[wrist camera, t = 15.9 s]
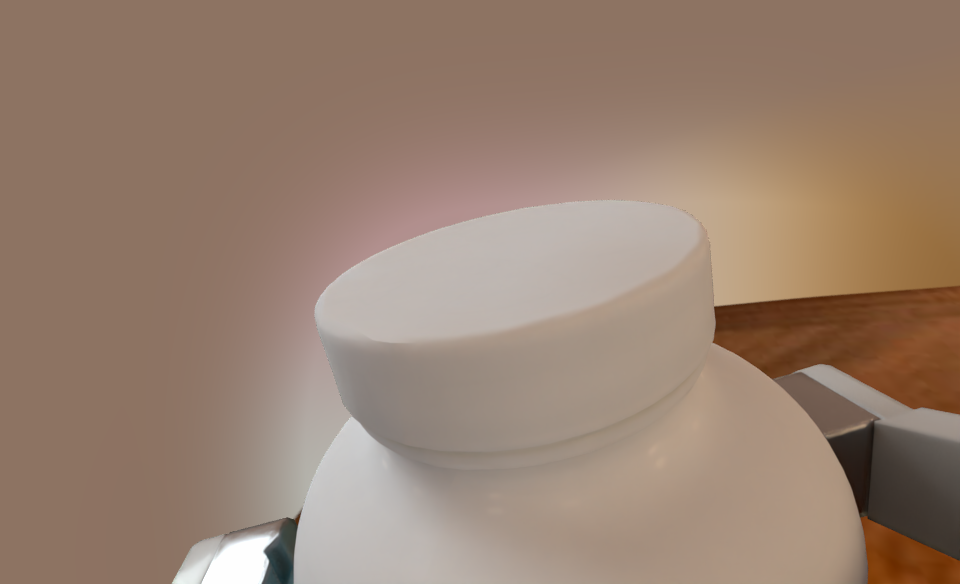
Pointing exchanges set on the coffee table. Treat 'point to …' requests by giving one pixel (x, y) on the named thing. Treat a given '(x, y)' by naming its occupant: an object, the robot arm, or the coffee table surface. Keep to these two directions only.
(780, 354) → the coffee table surface
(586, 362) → the pill bottle
